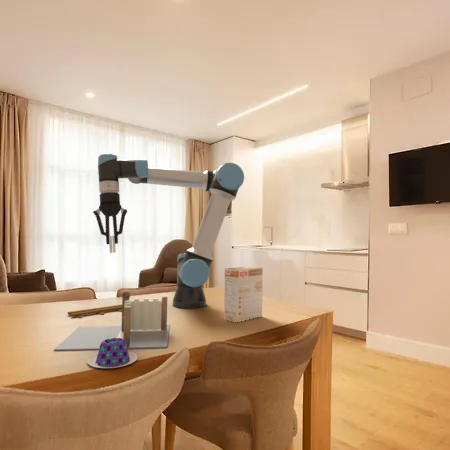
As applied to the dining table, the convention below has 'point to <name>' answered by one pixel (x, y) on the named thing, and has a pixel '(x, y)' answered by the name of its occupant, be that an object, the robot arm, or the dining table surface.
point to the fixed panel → (149, 314)
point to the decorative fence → (95, 311)
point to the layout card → (97, 334)
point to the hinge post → (124, 298)
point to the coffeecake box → (243, 293)
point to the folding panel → (127, 322)
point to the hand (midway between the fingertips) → (112, 252)
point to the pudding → (112, 354)
